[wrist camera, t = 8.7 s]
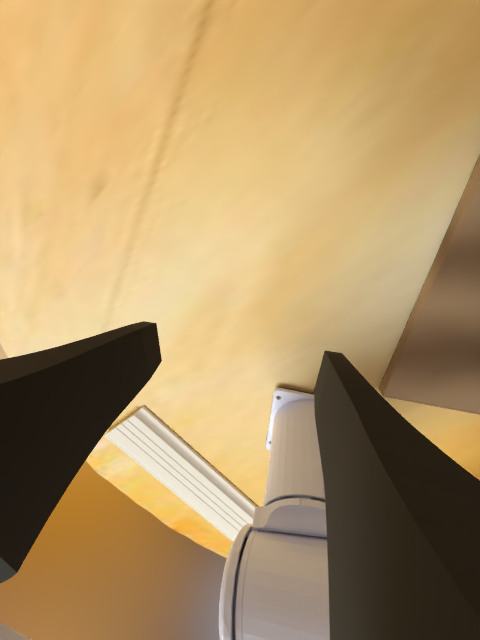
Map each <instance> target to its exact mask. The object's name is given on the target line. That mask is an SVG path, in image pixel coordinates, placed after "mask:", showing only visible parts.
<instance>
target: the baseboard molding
mask: <svg viewBox="0 0 480 640" xmlns="http://www.w3.org/2000/svg"><path fill="white" fill-rule="evenodd" d="M104 436H105V437H106V438H108V439H109V440H110V441H111V442H112V443H114V444H115V445H116V446H117V447H119V448H120V449H121V450H122V451H123V452H125V453H126V454H127V455H128V456H129V457H131V458H132V459H133V460H134V461H136V462H137V463H138V464H139V465H140V466H142V467H143V468H144V469H145V470H146V471H148V472H149V473H150V474H151V475H153V476H154V477H155V478H156V479H157V480H159V481H160V482H161V483H162V484H163V485H165V486H166V487H167V488H168V489H170V490H171V491H172V492H173V493H174V494H176V495H177V496H178V497H179V498H180V499H182V500H183V501H184V502H185V503H187V504H188V505H189V506H190V507H191V508H193V509H194V510H195V511H196V512H197V513H199V514H200V515H201V516H202V517H204V518H205V519H206V520H207V521H208V522H210V523H211V524H212V525H213V526H214V527H216V528H217V529H218V530H219V531H221V532H222V533H223V534H224V535H225V536H227V537H228V538H229V539H230V540H231V541H233V542H234V540H235V538H236V537H237V535H238V533H239V531H240V530H241V528H242V527H243V526H244V525H246V524H253V518H254V511H255V507H257V506H256V505H255V504H254V503H253V502H252V501H251V500H250V499H248V498H247V497H246V496H245V495H244V494H243V493H242V492H241V491H239V490H238V489H237V488H236V487H235V486H234V485H233V484H232V483H230V482H229V481H228V480H227V479H226V478H225V477H224V476H223V475H221V474H220V473H219V472H218V471H217V470H216V469H215V468H214V467H212V466H211V465H210V464H209V463H208V462H207V461H206V460H205V459H203V458H202V457H201V456H200V455H199V454H198V453H197V452H196V451H194V450H193V449H192V448H191V447H190V446H189V445H188V444H187V443H185V442H184V441H183V440H182V439H181V438H180V437H179V436H178V435H176V434H175V433H174V432H173V431H172V430H171V429H170V428H169V427H167V426H166V425H165V424H164V423H163V422H162V421H161V420H160V419H158V418H157V417H156V416H155V415H154V414H153V413H152V412H151V411H149V410H148V409H147V408H146V407H145V406H143V407H141V408H140V409H138V410H137V411H136V412H134V413H133V414H131V415H130V416H128V417H127V418H126V419H124V420H123V421H121V422H120V423H119V424H117V425H116V426H114V427H113V428H111V429H110V430H109V431H108V432H107V433H106V434H105V435H104Z"/></svg>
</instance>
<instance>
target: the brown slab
mask: <svg viewBox="0 0 480 640" xmlns="http://www.w3.org/2000/svg"><path fill="white" fill-rule="evenodd" d="M379 389H380V391H381V393H382V395H383V396H384V397H390V398H395V399H400V400H405V401H411V402H416V403H421V404H427V405H432V406H437V407H442V408H448V409H453V410H458V411H463V412H469V413H474V414H479V415H480V156H479V158H478V160H477V163H476V165H475V167H474V170H473V172H472V174H471V177H470V179H469V181H468V184H467V186H466V188H465V191H464V193H463V195H462V197H461V200H460V202H459V204H458V207H457V209H456V211H455V214H454V216H453V218H452V221H451V223H450V225H449V228H448V230H447V232H446V234H445V237H444V239H443V241H442V244H441V246H440V248H439V251H438V253H437V255H436V258H435V260H434V262H433V265H432V267H431V269H430V271H429V274H428V276H427V278H426V281H425V283H424V285H423V288H422V290H421V292H420V295H419V297H418V299H417V302H416V304H415V306H414V308H413V311H412V313H411V315H410V318H409V320H408V322H407V325H406V327H405V329H404V332H403V334H402V336H401V339H400V341H399V343H398V345H397V348H396V350H395V352H394V355H393V357H392V359H391V362H390V364H389V366H388V369H387V371H386V373H385V376H384V378H383V380H382V382H381V385H380V387H379Z"/></svg>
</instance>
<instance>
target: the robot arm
mask: <svg viewBox="0 0 480 640" xmlns="http://www.w3.org/2000/svg"><path fill="white" fill-rule="evenodd" d="M161 361H162V360H161V353H160V346H159V339H158V332H157V325H156V323H150V322H139V323H135V324H131V325H128V326H124V327H121V328H118V329H115V330H112V331H108V332H105V333H102V334H99V335H96V336H93V337H89V338H86V339H83V340H79V341H76V342H72V343H69V344H66V345H62V346H59V347H55V348H51V349H47V350H43V351H39V352H35V353H30V354H26V355H22V356H17V357H12V358H7V359H2V360H0V583H2V582H4V581H6V580H8V579H10V578H11V577H12V576H14V575H15V574H16V573H17V572H18V570H19V569H20V567H21V565H22V563H23V561H24V559H25V558H26V556H27V554H28V552H29V551H30V549H31V547H32V545H33V544H34V542H35V540H36V538H37V537H38V535H39V533H40V531H41V530H42V528H43V526H44V525H45V523H46V521H47V520H48V518H49V516H50V515H51V513H52V511H53V510H54V508H55V507H56V505H57V503H58V502H59V500H60V499H61V497H62V495H63V494H64V492H65V491H66V489H67V487H68V486H69V484H70V483H71V481H72V480H73V478H74V477H75V475H76V474H77V472H78V471H79V469H80V468H81V466H82V465H83V463H84V462H85V460H86V459H87V457H88V456H89V454H90V453H91V452H92V450H93V449H94V447H95V446H96V444H97V443H98V442H99V440H100V439H101V437H102V436H103V435H104V433H105V432H106V431H107V429H108V428H109V427H110V426H111V424H112V423H113V422H114V421H115V420H116V418H117V417H118V416H119V415H120V414H121V413H122V411H123V410H124V409H125V408H126V407H127V406H128V404H129V403H130V402H131V401H132V400H133V399H134V398H135V396H136V395H137V394H138V393H139V392H140V391H141V389H142V388H143V387H144V386H145V385H146V383H147V382H148V381H149V380H150V378H151V377H152V375H153V374H154V372H155V371H156V369H157V368H158V366H159V364H160V363H161ZM277 396H280V397H277ZM266 449H267V450H269V451H270V457H269V465H268V474H267V482H266V491H265V499H264V507H255V511H254V518H253V524H246V525H244V526H243V527H242V528H241V530H240V531H239V533H238V535H237V537H236V538H235V540H234V542H233V544H232V546H231V548H230V551H229V554H228V557H227V560H226V564H225V568H224V573H223V579H222V585H221V593H220V605H219V633H220V640H480V481H479V480H478V479H477V478H476V477H474V476H473V475H472V474H470V473H469V472H468V471H466V470H465V469H464V468H462V467H461V466H460V465H459V464H457V463H456V462H455V461H454V460H452V459H451V458H450V457H449V456H447V455H446V454H445V453H444V452H443V451H441V450H440V449H439V448H438V447H437V446H435V445H434V444H433V443H432V442H431V441H430V440H428V439H427V438H426V437H425V436H424V435H422V434H421V433H420V432H419V431H418V430H417V429H415V428H414V427H413V426H412V425H411V424H410V423H409V422H408V421H407V420H406V419H404V418H403V417H402V416H401V415H400V414H399V413H398V412H397V411H396V410H395V409H394V408H393V407H392V406H391V405H390V404H389V403H388V402H387V401H386V400H385V399H384V398H383V397H382V396H381V395H380V394H379V393H378V392H377V391H376V390H375V389H374V388H373V387H372V386H371V385H370V384H369V383H368V382H367V381H366V379H365V378H364V377H363V376H362V375H361V374H360V373H359V372H358V371H357V370H356V368H355V367H354V366H353V365H352V364H351V363H350V362H349V361H348V359H347V358H346V357H345V356H344V355H343V354H342V353H337V352H331V351H325V352H324V355H323V359H322V363H321V367H320V371H319V375H318V379H317V382H316V386H315V390H314V395H313V394H308V393H303V392H298V391H293V390H288V389H283V388H276V389H275V390H274V396H273V402H272V409H271V416H270V422H269V429H268V435H267V442H266ZM0 640H33V639H31V638H29V637H27V636H25V635H23V634H21V633H19V632H18V631H16V630H14V629H12V628H10V627H8V626H6V625H4V624H2V623H0Z"/></svg>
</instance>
